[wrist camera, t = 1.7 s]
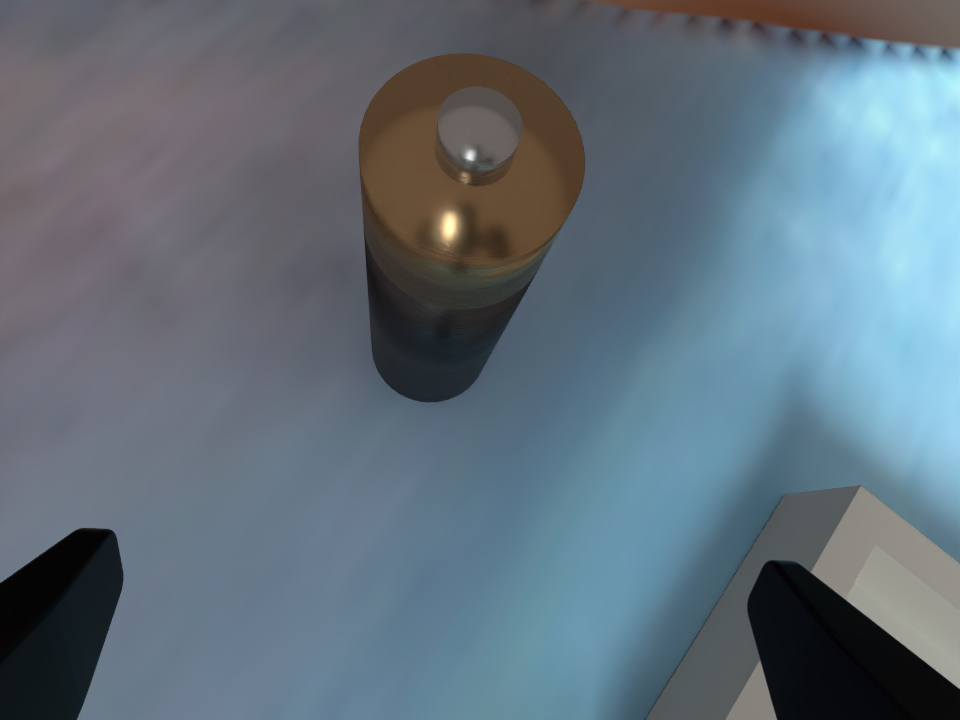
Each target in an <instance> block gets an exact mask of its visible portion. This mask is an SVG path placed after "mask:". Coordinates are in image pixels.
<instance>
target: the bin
mask: <svg viewBox="0 0 960 720" xmlns="http://www.w3.org/2000/svg"><path fill="white" fill-rule="evenodd" d="M769 560H786V561H794V562H797V563H799V564H800V565H802V566H803V567H805V568H806V569H807V570H808V571H810V572H811V573H812V574H813V575H815V576H816V577H817V578H819V579H820V580H821V581H822V582H824V583H825V584H826V585H828V586H829V587H830V588H831V589H833V590H834V591H835V592H836V593H838V594H839V595H840V596H842V597H843V598H844V599H845V600H847V601H848V602H849V603H851V604H852V605H853V606H854V607H856V608H857V609H858V610H859V611H861V612H862V613H863V614H865V615H866V616H867V617H868V618H870V619H871V620H872V621H874V622H875V623H876V624H877V625H879V626H880V627H881V628H883V629H884V630H885V631H886V632H888V633H889V634H890V635H891V636H893V637H894V638H895V639H897V640H898V641H899V642H900V643H902V644H903V645H904V646H906V647H907V648H908V649H909V650H911V651H912V652H913V653H914V654H916V655H917V656H918V657H920V658H921V659H922V660H923V661H925V662H926V663H927V664H929V665H930V666H931V667H932V668H934V669H935V670H936V671H937V672H939V673H940V674H941V675H943V676H944V677H945V678H946V679H948V680H949V681H950V682H952V683H953V684H954V685H955V686H957V687H958V688H959V689H960V563H958V562H957V561H956V560H954V559H953V558H952V557H951V556H949V555H948V554H947V553H946V552H944V551H943V550H942V549H941V548H939V547H938V546H937V545H936V544H934V543H933V542H932V541H931V540H929V539H928V538H927V537H925V536H924V535H923V534H922V533H920V532H919V531H918V530H917V529H915V528H914V527H913V526H912V525H910V524H909V523H908V522H907V521H905V520H904V519H903V518H902V517H900V516H899V515H898V514H896V513H895V512H894V511H893V510H891V509H890V508H889V507H888V506H886V505H885V504H884V503H883V502H881V501H880V500H879V499H878V498H876V497H875V496H874V495H872V494H871V493H870V492H869V491H867V490H866V489H865V488H864V487H862V486H852V487H844V488H836V489H828V490H819V491H811V492H803V493H794V494H786V495H784V496H783V498H782V499H781V501H780V503H779V504H778V506H777V507H776V509H775V511H774V512H773V514H772V516H771V517H770V519H769V520H768V522H767V524H766V525H765V527H764V529H763V530H762V532H761V533H760V535H759V537H758V538H757V540H756V541H755V543H754V545H753V546H752V548H751V550H750V551H749V553H748V554H747V556H746V558H745V559H744V561H743V562H742V564H741V566H740V567H739V569H738V571H737V572H736V574H735V575H734V577H733V579H732V580H731V582H730V584H729V585H728V587H727V588H726V590H725V592H724V593H723V595H722V596H721V598H720V600H719V601H718V603H717V605H716V606H715V608H714V609H713V611H712V613H711V614H710V616H709V618H708V619H707V621H706V622H705V624H704V626H703V627H702V629H701V630H700V632H699V634H698V635H697V637H696V639H695V640H694V642H693V643H692V645H691V647H690V648H689V650H688V651H687V653H686V655H685V656H684V658H683V660H682V661H681V663H680V664H679V666H678V668H677V669H676V671H675V673H674V674H673V676H672V677H671V679H670V681H669V682H668V684H667V685H666V687H665V689H664V690H663V692H662V694H661V695H660V697H659V698H658V700H657V702H656V703H655V705H654V706H653V708H652V710H651V711H650V713H649V715H648V716H647V718H646V719H645V720H777V718H776V715H775V711H774V708H773V705H772V702H771V698H770V694H769V691H768V687H767V683H766V680H765V676H764V672H763V669H762V665H761V661H760V658H759V654H758V650H757V647H756V643H755V639H754V636H753V632H752V628H751V625H750V621H749V617H748V612H747V602H748V597H749V595H750V592H751V590H752V588H753V586H754V584H755V582H756V580H757V577H758V575H759V573H760V571H761V569H762V567H763V565H764V564H765V563H766V562H767V561H769Z"/></svg>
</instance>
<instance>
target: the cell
mask: <svg viewBox="0 0 960 720" xmlns="http://www.w3.org/2000/svg"><path fill="white" fill-rule="evenodd" d="M359 164H360V179H361V194H362V209H363V224H364V238H365V253H366V268H367V283H368V298H369V313H370V328H371V343H372V354H373V359H374V362H375V365H376V368H377V370H378V372H379V374H380V375H381V377H382V378H383V379H384V381H385V382H386V383H387V384H388V385H389V386H390V387H391V388H392V389H393V390H395V391H396V392H398V393H399V394H401V395H403V396H405V397H407V398H410V399H412V400H416V401H421V402H439V401H444V400H448V399H451V398H453V397H455V396H458V395H459V394H461V393H463V392H464V391H465V390H466V389H468V388H469V387H470V386H471V385H472V384H473V383H474V382H475V380H476V379H477V378H478V376H479V374H480V373H481V371H482V369H483V367H484V365H485V364H486V362H487V360H488V358H489V356H490V355H491V353H492V351H493V349H494V348H495V346H496V344H497V342H498V340H499V339H500V337H501V335H502V333H503V331H504V330H505V328H506V326H507V324H508V323H509V321H510V319H511V317H512V315H513V314H514V312H515V310H516V308H517V307H518V305H519V303H520V301H521V299H522V298H523V296H524V294H525V292H526V290H527V289H528V287H529V285H530V283H531V282H532V280H533V278H534V276H535V274H536V273H537V271H538V269H539V267H540V265H541V264H542V262H543V260H544V258H545V257H546V255H547V253H548V251H549V249H550V248H551V246H552V244H553V242H554V241H555V239H556V237H557V235H558V233H559V232H560V230H561V228H562V226H563V224H564V223H565V221H566V219H567V217H568V216H569V214H570V212H571V210H572V208H573V206H574V205H575V203H576V201H577V199H578V196H579V193H580V191H581V188H582V184H583V179H584V173H585V155H584V147H583V143H582V139H581V135H580V132H579V130H578V127H577V124H576V122H575V120H574V119H573V117H572V115H571V113H570V111H569V110H568V108H567V107H566V106H565V104H564V103H563V101H562V100H561V99H560V98H559V97H558V96H557V95H556V93H555V92H554V91H553V90H552V89H551V88H549V87H548V86H547V85H546V84H545V83H544V82H543V81H541V80H540V79H538V78H537V77H536V76H534V75H533V74H531V73H530V72H528V71H526V70H524V69H522V68H520V67H518V66H516V65H514V64H511V63H509V62H506V61H503V60H500V59H496V58H493V57H488V56H482V55H476V54H448V55H443V56H437V57H433V58H429V59H426V60H423V61H420V62H418V63H415V64H413V65H411V66H409V67H407V68H405V69H404V70H402V71H400V72H399V73H397V74H396V75H395V76H393V77H392V78H391V79H390V80H389V81H387V82H386V83H385V84H384V86H383V87H382V88H381V89H380V90H379V91H378V92H377V94H376V95H375V96H374V98H373V99H372V101H371V102H370V104H369V106H368V108H367V110H366V112H365V115H364V118H363V121H362V124H361V129H360V135H359Z"/></svg>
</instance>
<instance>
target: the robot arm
mask: <svg viewBox="0 0 960 720" xmlns="http://www.w3.org/2000/svg"><path fill="white" fill-rule="evenodd" d="M122 586H123V568H122V563H121V558H120V552H119V547H118V542H117V537H116V534H115V533H114V532H113V531H112V530H109V529H97V528H81V529H78V530H75V531H74V532H72V533H71V534H69V535H68V536H66V537H65V538H64V539H62V540H61V541H59V542H58V543H56V544H55V545H54V546H52V547H51V548H49V549H48V550H47V551H45V552H44V553H42V554H41V555H39V556H38V557H37V558H35V559H34V560H32V561H31V562H30V563H28V564H27V565H25V566H24V567H22V568H21V569H20V570H18V571H17V572H15V573H14V574H13V575H11V576H10V577H8V578H7V579H5V580H4V581H3V582H1V583H0V720H77V718H78V716H79V713H80V711H81V709H82V706H83V703H84V701H85V698H86V695H87V692H88V690H89V687H90V684H91V681H92V678H93V675H94V672H95V669H96V666H97V663H98V660H99V657H100V654H101V651H102V648H103V645H104V642H105V639H106V636H107V633H108V630H109V627H110V624H111V621H112V618H113V615H114V612H115V609H116V606H117V603H118V600H119V597H120V594H121V591H122ZM747 612H748V617H749V621H750V625H751V628H752V632H753V636H754V639H755V643H756V647H757V650H758V654H759V658H760V661H761V665H762V669H763V672H764V676H765V680H766V683H767V687H768V691H769V694H770V698H771V702H772V705H773V708H774V711H775V715H776V718H777V720H960V689H959V688H958V687H957V686H955V685H954V684H953V683H952V682H950V681H949V680H948V679H946V678H945V677H944V676H943V675H941V674H940V673H939V672H937V671H936V670H935V669H934V668H932V667H931V666H930V665H929V664H927V663H926V662H925V661H923V660H922V659H921V658H920V657H918V656H917V655H916V654H914V653H913V652H912V651H911V650H909V649H908V648H907V647H906V646H904V645H903V644H902V643H900V642H899V641H898V640H897V639H895V638H894V637H893V636H891V635H890V634H889V633H888V632H886V631H885V630H884V629H883V628H881V627H880V626H879V625H877V624H876V623H875V622H874V621H872V620H871V619H870V618H868V617H867V616H866V615H865V614H863V613H862V612H861V611H859V610H858V609H857V608H856V607H854V606H853V605H852V604H851V603H849V602H848V601H847V600H845V599H844V598H843V597H842V596H840V595H839V594H838V593H836V592H835V591H834V590H833V589H831V588H830V587H829V586H828V585H826V584H825V583H824V582H822V581H821V580H820V579H819V578H817V577H816V576H815V575H813V574H812V573H811V572H810V571H808V570H807V569H806V568H805V567H803V566H802V565H800V564H799V563H797V562H794V561H786V560H769V561H767V562H766V563H765V564H764V565H763V567H762V569H761V571H760V573H759V575H758V577H757V580H756V582H755V584H754V586H753V588H752V590H751V592H750V595H749V597H748V602H747Z"/></svg>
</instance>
